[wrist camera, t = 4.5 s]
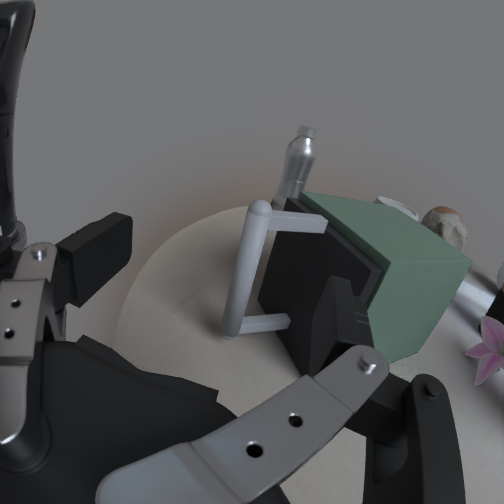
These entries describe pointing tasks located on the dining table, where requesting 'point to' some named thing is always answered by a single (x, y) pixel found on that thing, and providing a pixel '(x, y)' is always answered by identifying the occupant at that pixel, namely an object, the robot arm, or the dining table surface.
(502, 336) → the lily
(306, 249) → the black drawer with handle
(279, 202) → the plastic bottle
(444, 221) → the amphora
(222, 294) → the dining table surface
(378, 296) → the green drawer cabinet
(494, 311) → the travel mug
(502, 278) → the decorative ball
